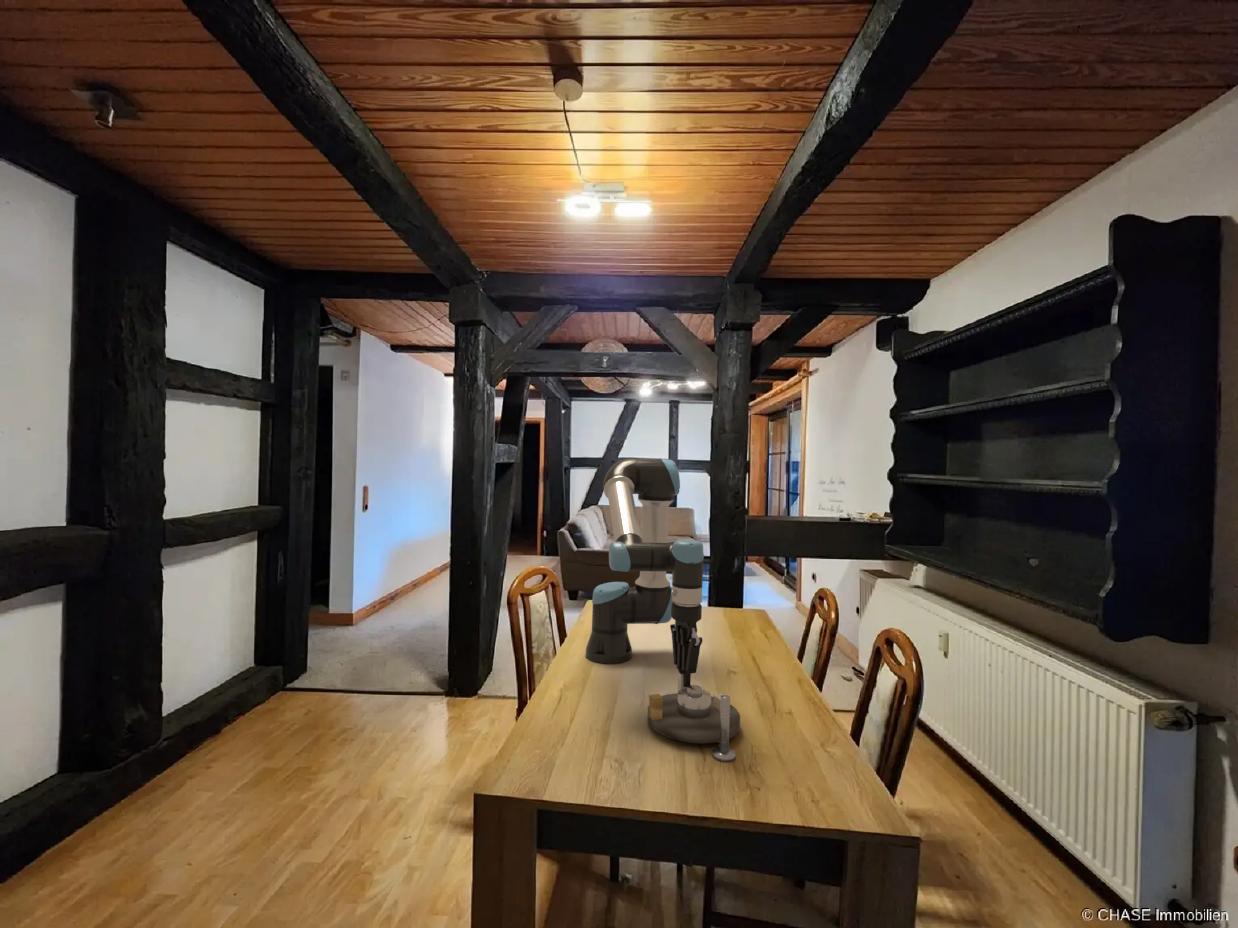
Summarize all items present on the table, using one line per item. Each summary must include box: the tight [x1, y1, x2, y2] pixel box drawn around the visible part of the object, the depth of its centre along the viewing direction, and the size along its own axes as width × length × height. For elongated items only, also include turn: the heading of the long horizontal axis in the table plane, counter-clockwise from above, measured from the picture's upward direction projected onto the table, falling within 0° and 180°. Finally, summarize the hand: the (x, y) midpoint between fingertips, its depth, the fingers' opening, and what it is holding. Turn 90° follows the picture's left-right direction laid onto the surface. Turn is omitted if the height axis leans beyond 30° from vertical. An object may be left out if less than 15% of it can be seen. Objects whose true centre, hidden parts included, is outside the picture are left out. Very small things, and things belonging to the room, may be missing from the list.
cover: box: [677, 684, 712, 719], centre depth 134 cm, size 8×8×6 cm
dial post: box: [711, 693, 736, 763], centre depth 120 cm, size 6×5×13 cm
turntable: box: [646, 692, 741, 744], centre depth 133 cm, size 22×22×7 cm
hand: (683, 697), depth 138 cm, fingers closed
